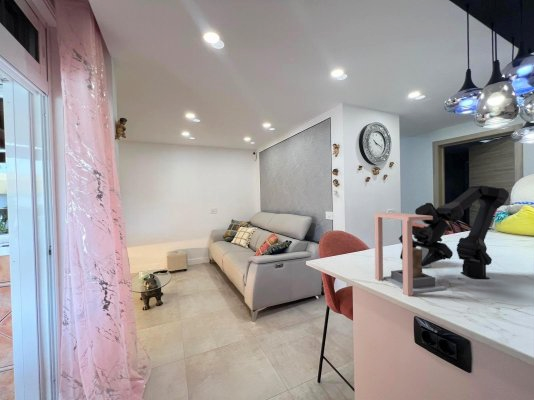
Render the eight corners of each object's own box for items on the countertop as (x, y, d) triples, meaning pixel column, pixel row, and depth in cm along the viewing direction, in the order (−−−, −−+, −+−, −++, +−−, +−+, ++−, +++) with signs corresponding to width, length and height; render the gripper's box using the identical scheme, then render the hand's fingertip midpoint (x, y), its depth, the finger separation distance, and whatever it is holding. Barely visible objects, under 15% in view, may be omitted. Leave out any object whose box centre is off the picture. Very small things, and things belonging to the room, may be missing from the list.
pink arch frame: (395, 275, 91) (394, 212, 91) (433, 293, 74) (432, 216, 74) (374, 278, 89) (373, 213, 89) (409, 296, 72) (408, 217, 72)
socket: (411, 275, 91) (411, 266, 91) (445, 289, 77) (445, 279, 77) (383, 278, 88) (383, 269, 88) (412, 293, 75) (412, 283, 74)
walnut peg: (412, 279, 85) (411, 246, 85) (422, 283, 81) (422, 249, 81) (402, 280, 85) (402, 247, 84) (412, 284, 80) (412, 250, 80)
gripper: (402, 216, 92) (380, 243, 90) (446, 221, 74) (419, 255, 72) (417, 233, 94) (396, 260, 92) (464, 242, 76) (439, 275, 74)
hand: (410, 262), depth 83 cm, fingers open, 9 cm apart
